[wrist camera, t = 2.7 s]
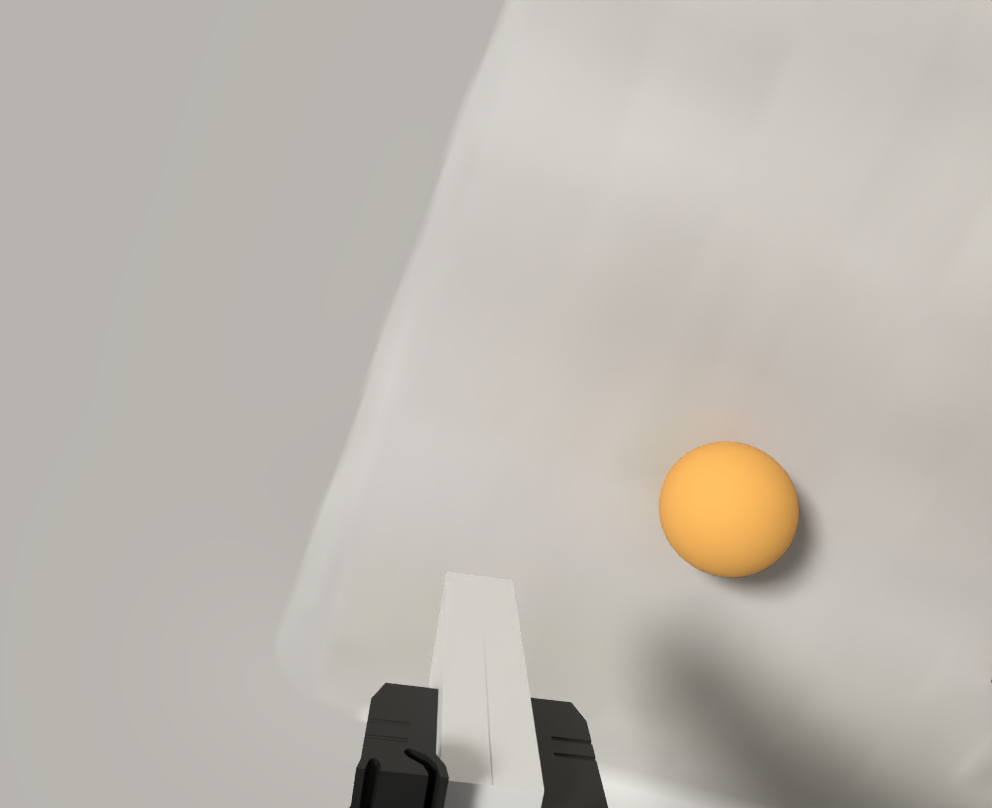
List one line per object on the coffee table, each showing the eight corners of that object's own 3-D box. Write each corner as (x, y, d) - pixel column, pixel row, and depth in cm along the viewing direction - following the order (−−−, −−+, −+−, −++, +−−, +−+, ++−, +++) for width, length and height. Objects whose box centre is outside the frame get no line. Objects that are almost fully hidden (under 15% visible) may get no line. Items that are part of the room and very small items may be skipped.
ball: (781, 436, 31) (839, 477, 26) (752, 550, 32) (802, 610, 28) (660, 417, 31) (696, 455, 26) (634, 534, 32) (664, 592, 27)
